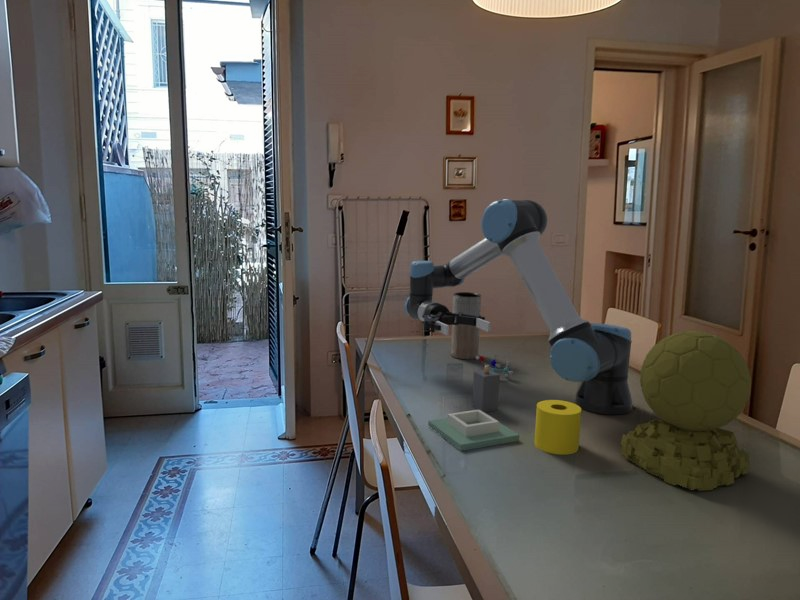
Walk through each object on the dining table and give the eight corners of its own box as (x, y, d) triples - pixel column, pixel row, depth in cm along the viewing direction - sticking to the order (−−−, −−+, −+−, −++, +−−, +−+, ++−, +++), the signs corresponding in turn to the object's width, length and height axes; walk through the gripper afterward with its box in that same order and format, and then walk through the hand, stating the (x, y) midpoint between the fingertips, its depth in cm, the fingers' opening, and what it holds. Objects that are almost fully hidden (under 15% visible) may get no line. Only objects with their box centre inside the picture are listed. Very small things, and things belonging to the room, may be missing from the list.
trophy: (674, 439, 146) (687, 317, 141) (763, 476, 127) (781, 337, 122) (606, 455, 136) (617, 325, 131) (692, 498, 117) (709, 348, 112)
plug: (487, 404, 168) (489, 362, 166) (497, 410, 164) (499, 367, 162) (472, 406, 166) (474, 364, 164) (482, 412, 162) (484, 369, 160)
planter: (459, 351, 226) (461, 291, 222) (483, 355, 220) (486, 294, 217) (445, 356, 218) (447, 294, 214) (469, 361, 212) (472, 297, 209)
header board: (482, 418, 157) (483, 403, 157) (518, 440, 143) (519, 424, 142) (428, 426, 151) (428, 411, 150) (460, 451, 137) (460, 434, 136)
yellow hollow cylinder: (525, 440, 144) (528, 402, 142) (560, 434, 147) (562, 397, 146) (552, 457, 134) (554, 417, 133) (587, 450, 138) (590, 411, 137)
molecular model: (515, 363, 198) (507, 341, 192) (516, 384, 191) (508, 362, 185) (481, 369, 201) (472, 348, 196) (481, 390, 194) (472, 369, 188)
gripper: (467, 323, 195) (505, 338, 176) (397, 328, 185) (429, 345, 166) (468, 300, 194) (506, 313, 175) (398, 304, 184) (430, 318, 165)
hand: (468, 328), depth 170 cm, fingers open, 13 cm apart
